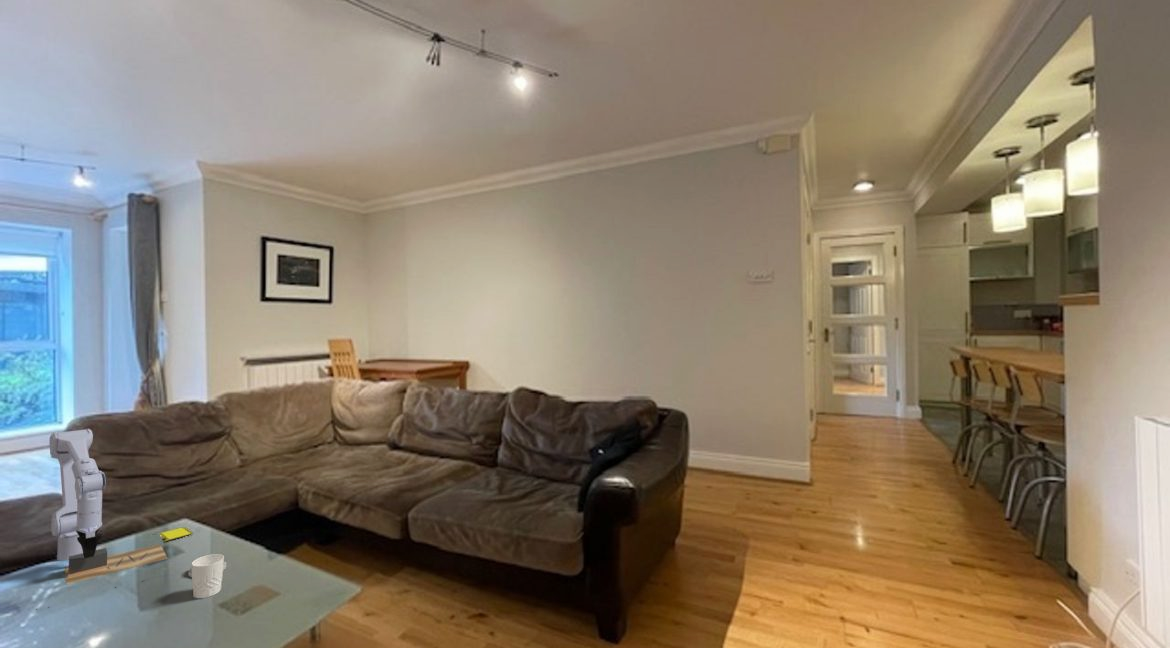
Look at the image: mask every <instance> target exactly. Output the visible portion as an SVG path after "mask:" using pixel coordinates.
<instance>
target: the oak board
mask: <svg viewBox="0 0 1170 648" xmlns="http://www.w3.org/2000/svg"><path fill="white" fill-rule="evenodd" d="M168 559H169V558H168V555H167V554H166V552H165V550H164V548H163V547H162V544H161V543H159V544H154V545H151V546H146V547H142V548H137V549H133V550H129V551H125V552H121V553H117V554H113V555H109V556H108V555H107V564H108V568H104V569H100V570H96V571H92V572H88V573H84V574H80V575H77V576H73V577H69V578H68V569H69V565H66V566H64V571H65V572H64V573H65V583H66V585H71V584H74V583H78V582H83V581H86V580H90V579H95V578H97V577H98V578H99V577H102V576H106V575H110V574H114V573H117V572H121V571H125V570H128V569H133V568H135V567H136V568H137V567H141V566H145V565H148V564H149V565H150V564H152V563H153V564H154V563H157V562H160V561H163V560H164V561H165V560H168Z"/></svg>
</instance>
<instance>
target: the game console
mask: <svg viewBox="0 0 1170 648" xmlns="http://www.w3.org/2000/svg"><path fill="white" fill-rule="evenodd" d="M192 533H193V531H191V530H190V529H188V528H187V527H184V526H181V527H176V528H173V529H168V530H166V531H165V530H163V531H162V532H158V533H153V534H152V536H153V535H159V537H160V538H161V540H162V542H163V544H166V543H169V541H170V542H172V541H176V539H177V540H180V538H181V539H184V538H186V537H185V536H188V537H190V536H189V535H191V534H192ZM193 534H194V533H193ZM148 536H149V537H150V536H151V535H148ZM191 536H192V535H191ZM144 537H147V535H146V536H144ZM183 537H184V538H183ZM165 542H166V543H165Z"/></svg>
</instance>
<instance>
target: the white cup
mask: <svg viewBox="0 0 1170 648" xmlns="http://www.w3.org/2000/svg"><path fill="white" fill-rule="evenodd" d="M220 554H221V553H214V554H213V555H212V554H210V555H209V554H207V555H202V556H203V557H202V556H200V558H199V557H198V558H196V559H195V560H193V561H192V562H191V568H192V578H191V582H192V596H193V598H194V599H206V598H210V597H213V596H214V595H216V594H219V592H220V591H222V580H223V574H224V573H223V572H224V570H223V563H224V560H225V556H224V555H223V554H221V555H220Z"/></svg>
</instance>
